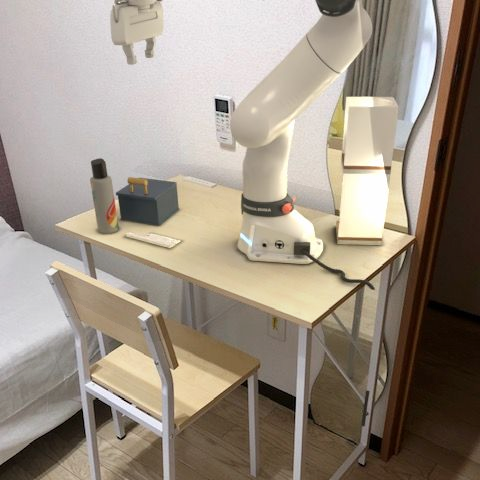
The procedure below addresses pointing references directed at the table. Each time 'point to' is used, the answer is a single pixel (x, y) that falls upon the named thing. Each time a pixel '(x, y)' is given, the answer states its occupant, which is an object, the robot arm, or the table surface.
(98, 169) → the lotion bottle
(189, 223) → the table surface
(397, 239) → the table surface
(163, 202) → the chest
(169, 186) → the lid
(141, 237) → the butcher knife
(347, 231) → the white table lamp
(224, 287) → the table surface
